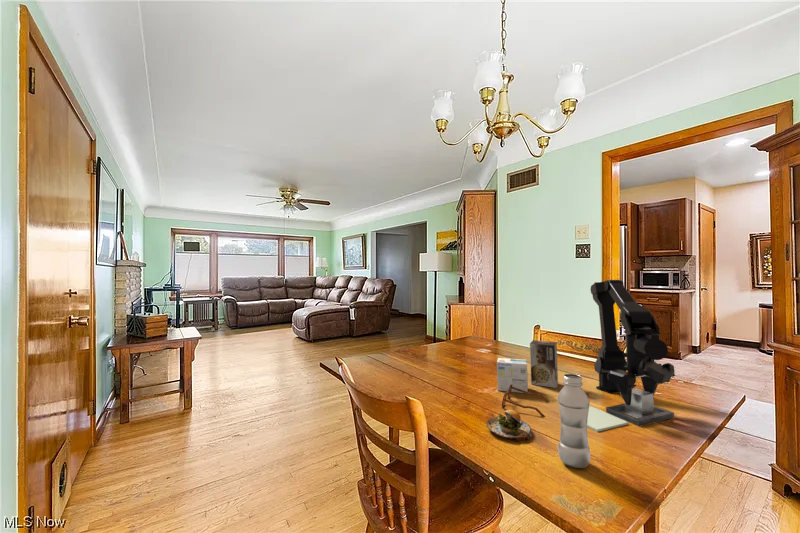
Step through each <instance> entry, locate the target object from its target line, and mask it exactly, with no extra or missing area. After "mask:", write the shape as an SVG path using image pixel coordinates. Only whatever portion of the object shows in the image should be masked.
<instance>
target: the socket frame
mask: <svg viewBox="0 0 800 533" xmlns="http://www.w3.org/2000/svg"><path fill="white" fill-rule="evenodd" d="M605 412H606V413H608V414H610V415H613V416H615V417H617V418H620V419H622V420H624V421H627V422H628V423H630V424H632V425H634V426H637V427H642V426H646V425H651V424H654V423H658V422H662V421H667V420H669V419H670V420H671V419H674V418H675V412H674V411H672V410H668V409H666V408H662V407H660V406H657V405H654V414H652V415H648V416H644V417H639V418H636V417H634V416H631V415H629V414H627V413H625V402H624V403H621V404H616V405H611V406H606V407H605Z"/></svg>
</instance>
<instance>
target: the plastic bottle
mask: <svg viewBox="0 0 800 533" xmlns="http://www.w3.org/2000/svg"><path fill="white" fill-rule="evenodd" d="M562 384H564V385H563V387H562V388H561V389H560V391H559V392H558V395H557V403H558V409H559V418H560V434H559V440H558V446H557V452H558V457H559V459H560V461H561V462H562V463H563V464H564V465H567V466H568V467H571V468H574V469H584V468H587V466H589V464H590V462H591V457H592V455H591V450H590V444H589V438H588V437H589V434H588V427H587V420H588V412H589V406H591V405H590V403H591V401H590V399H589V396H588V394H587V393H586V392H585V390H584V389H583V378H582V376H581V375H580V374H575V373H565V374H563V383H562Z"/></svg>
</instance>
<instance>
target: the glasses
mask: <svg viewBox="0 0 800 533" xmlns="http://www.w3.org/2000/svg"><path fill="white" fill-rule="evenodd" d="M510 388H511V389H510ZM512 389H515V390H517V391H520V392H523V393H522V394H527V395H529V396H537V397H539V398H541V399H543V400H544V401H545V402H546V403H550V401H549V400H548V399H547V398H546V397H545V396H544V395H542V394H538V393H535V392H529V391H528V392H526V391H523V390H521V389H518V388H515V387H512V384H511V385H510V387H509V390H508V391H504V394H503V396H502V397H503V398H502V401H501V407H502V408H504V407H505V404H506V403H509V404H512V405H514V406H516V407H519V408H523V409H532V410H535V411H536V412H537V413H538V414H539V415H540V416H541V417H544V418H545V417H546V416H545V414H544V413H543V412H541V411H540V410H539V408H538V407H534V406H531V405H523V404H520V403H517V402H515V401H512V400H509V398H511V394H512V392H511V390H512Z"/></svg>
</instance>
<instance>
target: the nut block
mask: <svg viewBox="0 0 800 533" xmlns="http://www.w3.org/2000/svg"><path fill="white" fill-rule="evenodd" d="M624 403H625V402H624ZM654 406H655V405H654V396H653V393H650V392H647V391H644V389H640V388H637V387H634V388H633V389H632V396H631V405H630V406H629V405H626V403H625V411H624V413H626V414H629V415H631V416H634V417H636V418H639V417H644V416H648V415H652V414H655V412H654Z"/></svg>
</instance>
